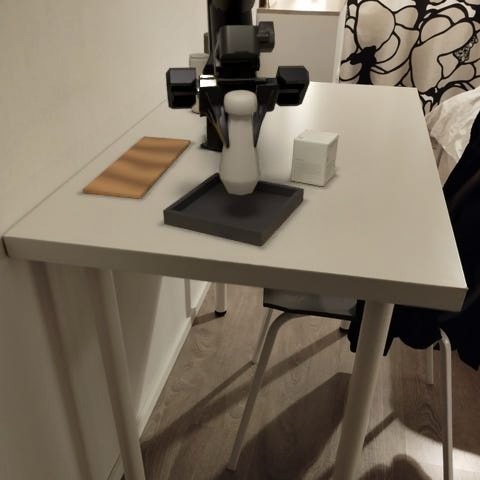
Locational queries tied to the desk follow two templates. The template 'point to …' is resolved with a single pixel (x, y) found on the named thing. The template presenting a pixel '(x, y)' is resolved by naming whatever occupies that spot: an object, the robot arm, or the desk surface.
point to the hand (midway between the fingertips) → (241, 147)
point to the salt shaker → (240, 144)
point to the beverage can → (198, 70)
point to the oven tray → (234, 210)
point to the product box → (314, 157)
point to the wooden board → (138, 168)
